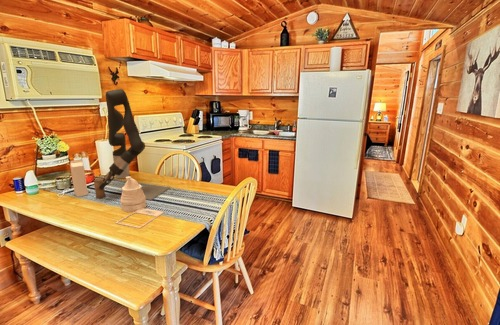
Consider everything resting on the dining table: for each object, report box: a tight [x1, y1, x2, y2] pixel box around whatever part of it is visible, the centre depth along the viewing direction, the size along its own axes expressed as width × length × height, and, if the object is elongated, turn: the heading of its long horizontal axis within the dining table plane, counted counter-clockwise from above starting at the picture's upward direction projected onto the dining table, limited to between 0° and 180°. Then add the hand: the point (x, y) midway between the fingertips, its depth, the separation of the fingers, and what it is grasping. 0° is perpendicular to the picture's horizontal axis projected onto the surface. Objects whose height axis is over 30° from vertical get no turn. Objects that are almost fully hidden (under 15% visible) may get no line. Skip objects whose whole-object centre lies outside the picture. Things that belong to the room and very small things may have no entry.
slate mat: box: [141, 184, 171, 201], centre depth 164 cm, size 22×18×1 cm
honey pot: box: [119, 175, 147, 213], centre depth 141 cm, size 13×13×18 cm
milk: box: [69, 159, 89, 198], centre depth 157 cm, size 6×6×22 cm
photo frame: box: [114, 207, 165, 229], centre depth 130 cm, size 15×1×18 cm
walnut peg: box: [93, 178, 106, 200], centre depth 154 cm, size 5×5×11 cm
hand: (100, 186), depth 154 cm, fingers open, 8 cm apart
